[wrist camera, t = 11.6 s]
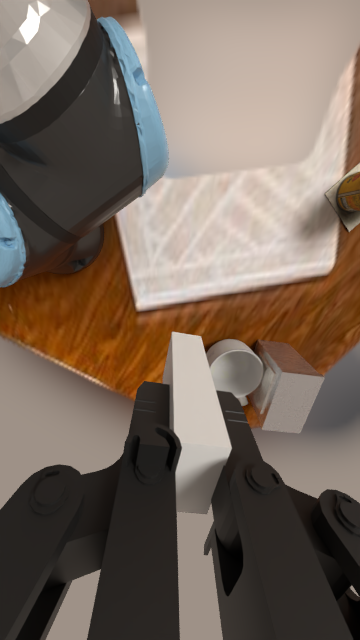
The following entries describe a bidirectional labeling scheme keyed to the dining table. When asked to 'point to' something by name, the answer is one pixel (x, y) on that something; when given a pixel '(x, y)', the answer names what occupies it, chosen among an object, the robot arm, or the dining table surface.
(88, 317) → the dining table surface
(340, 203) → the condiment
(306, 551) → the robot arm
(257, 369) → the teacup
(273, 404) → the napkin dispenser
